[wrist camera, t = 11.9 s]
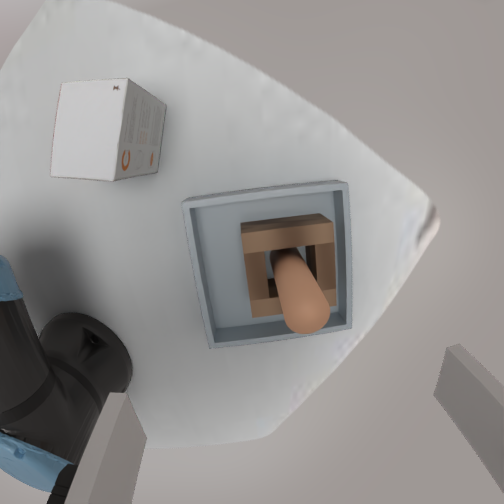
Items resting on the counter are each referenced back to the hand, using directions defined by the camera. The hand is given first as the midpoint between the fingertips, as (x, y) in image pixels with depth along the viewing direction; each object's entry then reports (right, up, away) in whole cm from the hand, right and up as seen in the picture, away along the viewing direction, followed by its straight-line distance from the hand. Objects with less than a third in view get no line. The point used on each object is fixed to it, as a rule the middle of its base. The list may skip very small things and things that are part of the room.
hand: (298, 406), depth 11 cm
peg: (+2, +5, +25) cm, 26 cm away
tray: (0, +5, +26) cm, 26 cm away
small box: (-15, +19, +22) cm, 32 cm away
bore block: (+2, +6, +26) cm, 27 cm away
